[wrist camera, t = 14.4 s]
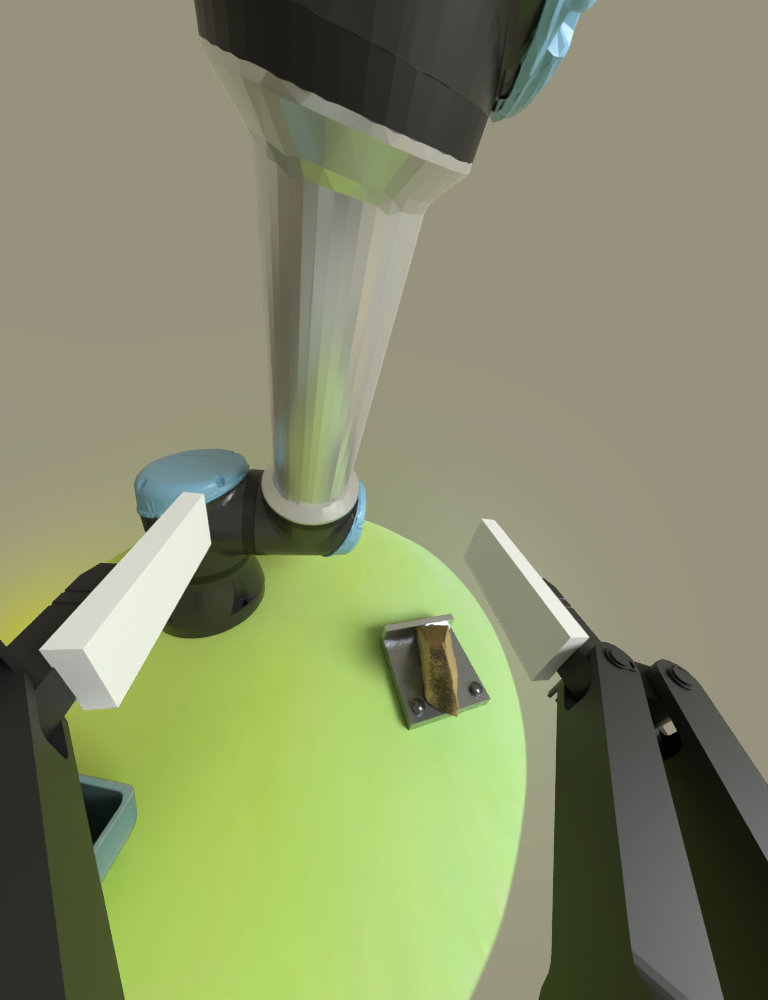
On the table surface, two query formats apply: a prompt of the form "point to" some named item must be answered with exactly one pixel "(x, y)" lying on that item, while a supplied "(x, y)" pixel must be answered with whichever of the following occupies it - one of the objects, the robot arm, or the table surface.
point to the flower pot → (108, 817)
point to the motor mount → (408, 672)
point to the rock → (438, 667)
